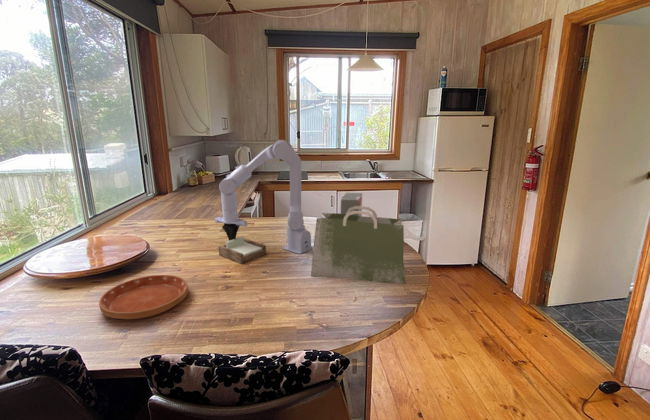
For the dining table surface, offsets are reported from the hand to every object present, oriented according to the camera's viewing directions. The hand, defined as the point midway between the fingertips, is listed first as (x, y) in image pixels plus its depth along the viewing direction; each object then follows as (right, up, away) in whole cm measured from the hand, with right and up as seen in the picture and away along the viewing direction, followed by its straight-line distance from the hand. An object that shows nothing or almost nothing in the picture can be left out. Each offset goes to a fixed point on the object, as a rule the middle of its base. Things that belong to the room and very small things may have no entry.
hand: (232, 241), depth 137 cm
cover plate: (+5, -3, -4) cm, 7 cm away
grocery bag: (+49, -9, -18) cm, 53 cm away
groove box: (+5, -5, -3) cm, 7 cm away
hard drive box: (+49, -1, +12) cm, 50 cm away
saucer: (-15, -15, -37) cm, 42 cm away
